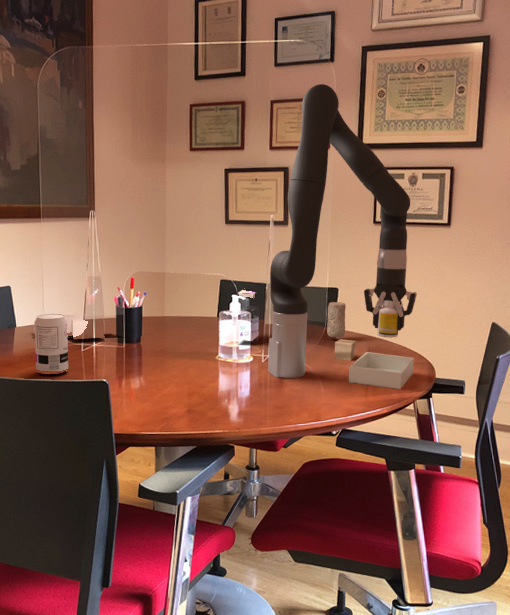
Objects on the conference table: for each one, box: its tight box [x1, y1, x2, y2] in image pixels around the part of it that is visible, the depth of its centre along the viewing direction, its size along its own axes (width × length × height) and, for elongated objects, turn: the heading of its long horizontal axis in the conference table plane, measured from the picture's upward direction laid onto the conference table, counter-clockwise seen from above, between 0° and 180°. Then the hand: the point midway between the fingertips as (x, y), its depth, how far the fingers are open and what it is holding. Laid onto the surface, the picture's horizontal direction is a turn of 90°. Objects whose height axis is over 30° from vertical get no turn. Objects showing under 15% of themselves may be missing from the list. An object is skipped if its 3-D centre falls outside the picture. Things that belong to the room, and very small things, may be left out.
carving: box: [326, 301, 347, 338], centre depth 215 cm, size 6×8×12 cm
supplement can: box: [33, 313, 69, 371], centre depth 164 cm, size 8×8×15 cm
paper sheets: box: [32, 315, 88, 337], centre depth 215 cm, size 35×20×6 cm, turn 66°
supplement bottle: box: [377, 300, 399, 339], centre depth 166 cm, size 5×5×10 cm
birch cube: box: [333, 338, 357, 361], centre depth 187 cm, size 5×5×5 cm
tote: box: [348, 351, 415, 390], centre depth 165 cm, size 17×13×5 cm
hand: (387, 328), depth 166 cm, fingers closed on supplement bottle, 5 cm apart
